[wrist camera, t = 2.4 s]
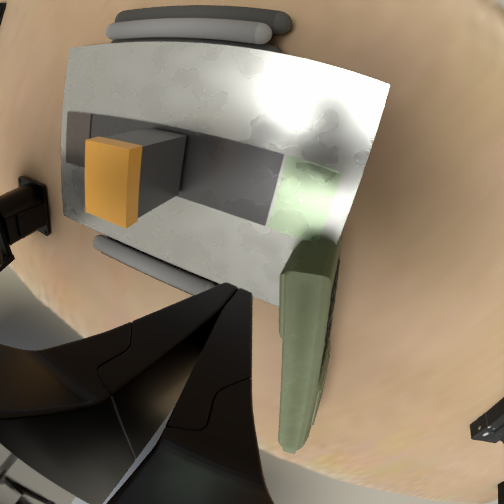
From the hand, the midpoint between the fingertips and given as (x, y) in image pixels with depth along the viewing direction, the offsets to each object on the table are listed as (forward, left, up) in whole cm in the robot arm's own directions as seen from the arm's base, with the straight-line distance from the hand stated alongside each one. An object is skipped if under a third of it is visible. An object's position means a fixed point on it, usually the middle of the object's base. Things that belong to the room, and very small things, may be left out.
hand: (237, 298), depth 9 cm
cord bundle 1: (-10, +9, -12) cm, 18 cm away
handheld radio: (+5, -14, -13) cm, 20 cm away
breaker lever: (-9, 0, -9) cm, 13 cm away
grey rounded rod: (-10, -9, -12) cm, 18 cm away
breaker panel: (-9, 0, -12) cm, 15 cm away
